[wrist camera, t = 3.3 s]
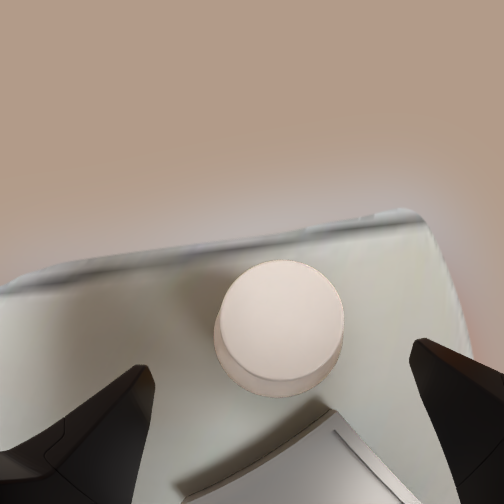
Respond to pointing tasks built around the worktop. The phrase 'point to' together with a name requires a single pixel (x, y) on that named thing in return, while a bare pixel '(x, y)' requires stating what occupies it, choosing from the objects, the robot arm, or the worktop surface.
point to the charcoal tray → (313, 472)
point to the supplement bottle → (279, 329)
